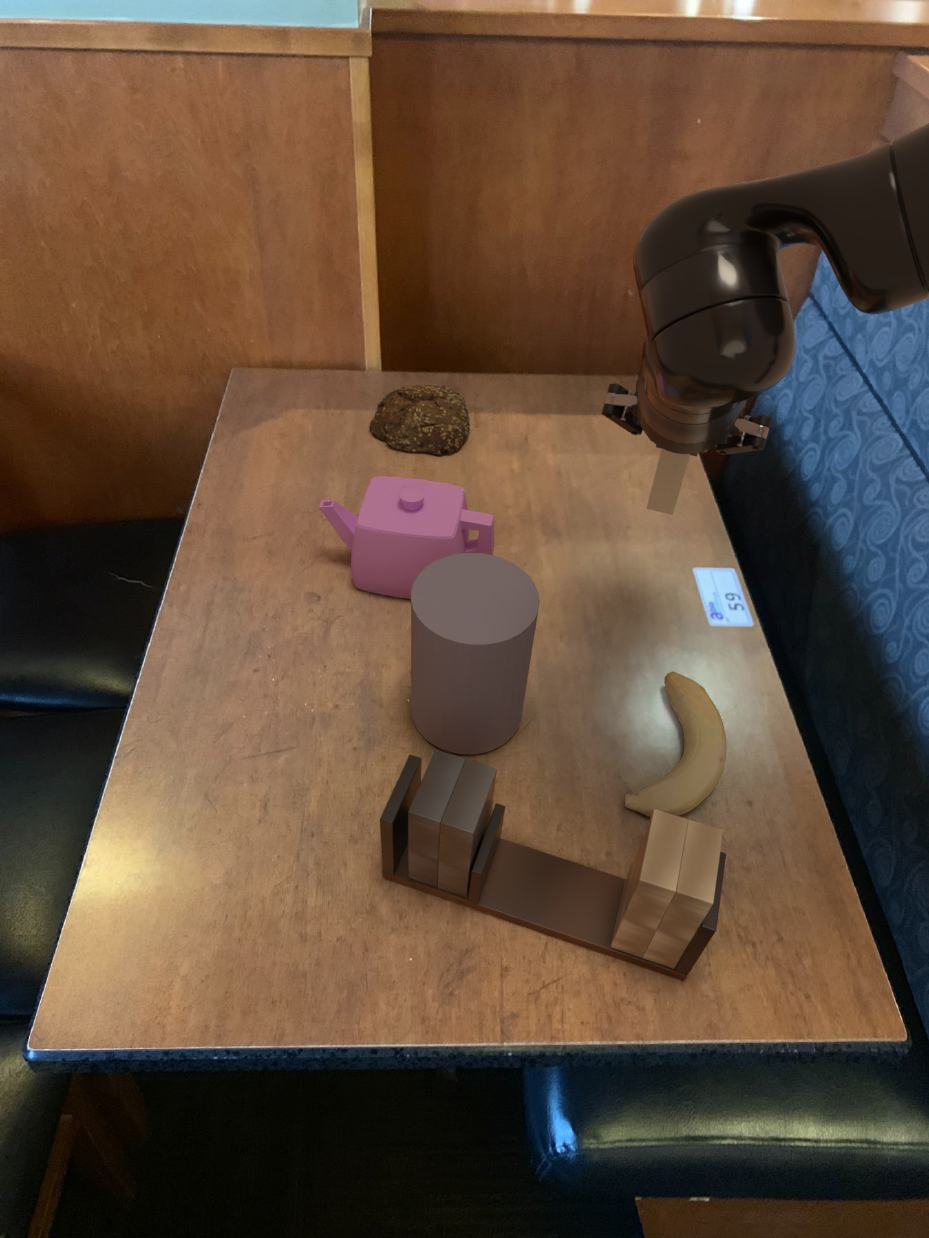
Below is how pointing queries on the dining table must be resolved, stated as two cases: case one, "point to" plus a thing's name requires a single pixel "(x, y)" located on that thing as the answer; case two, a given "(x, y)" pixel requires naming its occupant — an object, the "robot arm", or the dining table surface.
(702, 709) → the fruit
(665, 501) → the cream book
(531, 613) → the grey upright cylinder
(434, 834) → the book rack
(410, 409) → the bread roll
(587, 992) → the dining table surface
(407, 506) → the teapot
